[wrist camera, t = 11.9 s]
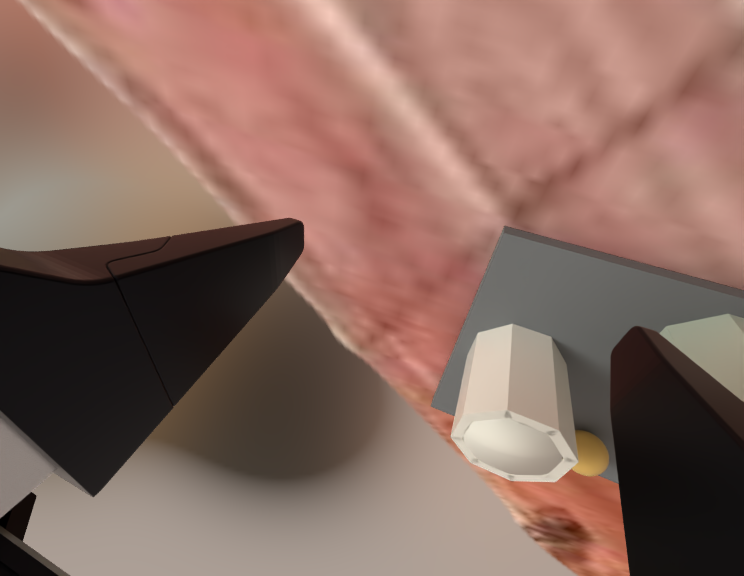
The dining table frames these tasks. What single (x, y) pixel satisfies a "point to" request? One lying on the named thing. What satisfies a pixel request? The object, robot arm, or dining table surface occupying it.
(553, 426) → the cream cup
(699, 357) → the sage cup
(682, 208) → the dining table surface
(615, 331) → the mat
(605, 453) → the amber marble
